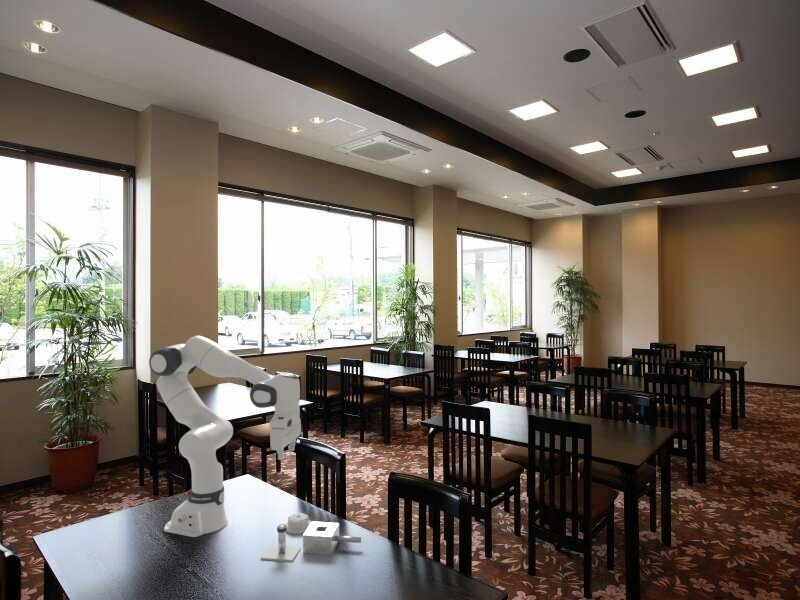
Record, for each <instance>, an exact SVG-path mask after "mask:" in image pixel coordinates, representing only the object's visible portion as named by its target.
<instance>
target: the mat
mask: <svg viewBox="0 0 800 600" xmlns="http://www.w3.org/2000/svg"><path fill="white" fill-rule="evenodd" d="M301 549H302V548H301V547H299V546H287V545H286V553H284V554H279V553H278V545H273V544H272V545H271V544H270V545H269V547H268V548H267V549H266V550H265V552H264V553H263V554H262V555H261V557H260V560H261V561H262V560H263V561H274V562H275V561H278V562H290V563H293V561H294V560H295V559H296V558H297V556H298V554H299V553H300V551H301Z"/></svg>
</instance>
